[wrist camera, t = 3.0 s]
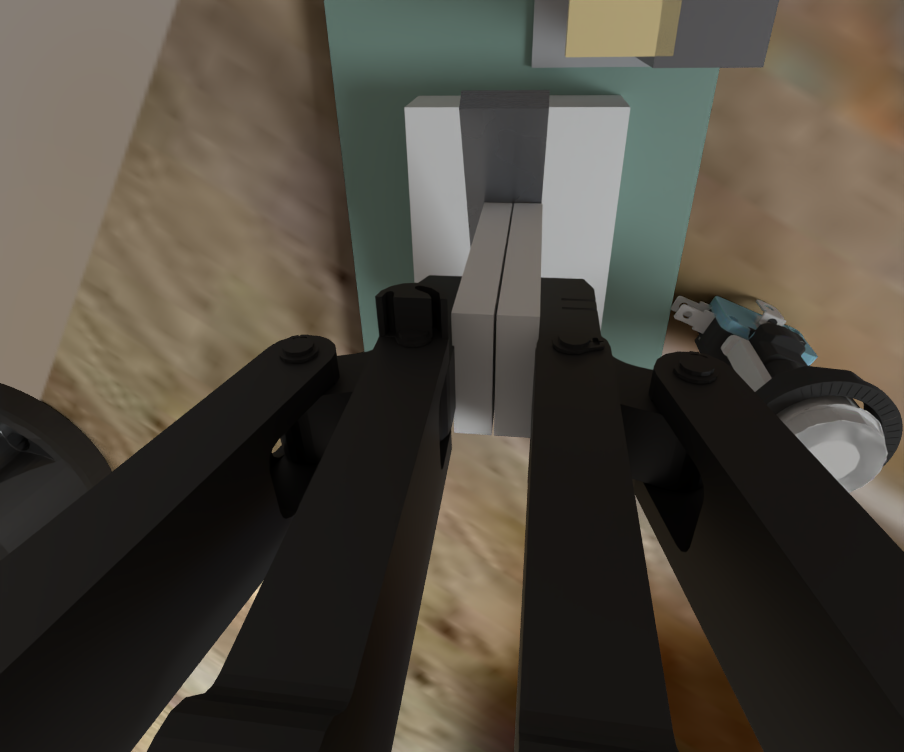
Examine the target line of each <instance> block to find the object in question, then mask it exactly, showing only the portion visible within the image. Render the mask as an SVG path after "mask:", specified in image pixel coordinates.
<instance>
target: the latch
mask: <svg viewBox="0 0 904 752" xmlns="http://www.w3.org/2000/svg"><path fill="white" fill-rule="evenodd" d="M778 2H779V0H569V3H568V17H567V30H566V44H565V57H636V58H638V59H639V60H641V61H642V62H644V63H645V64H647V65H649V66H650V67H652V68H739V67H763V65H764V61H765V57H766V53H767V49H768V44H769V40H770V36H771V32H772V27H773V23H774V19H775V15H776V11H777V6H778Z"/></svg>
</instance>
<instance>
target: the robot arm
mask: <svg viewBox="0 0 904 752" xmlns="http://www.w3.org/2000/svg"><path fill="white" fill-rule="evenodd" d="M542 210H543V204H539V203H514V208H513V214H512V203H488V202H484V205H483V209H482V212H481V215H480V219H479V222H478V225H477V229H476V232H475V235H474V239H473V242H472V245H471V249H470V252H469V255H468V259H467V262H466V265H465V269H464V272H463V275H462V276H440V275H429V276H427V277H426V278H424V279H423V280H421V281H420V282H419V283H402V284H398V285H393V286H390V287H388V288H386V289H383V290H381V291H380V292H379V293H378V294H377V295H376V296H375V301H376V311H377V321H378V330H379V338H378V340H377V342H376V344H375V346H374V348H373V350H370V351H367V352H362V353H357V354H349V355H341V356H337V354H336V347H335V344H334V343H333V342H331V341H330V340H329V339H327V338H324V337H321V336H312V335H300V336H299V335H296V336H292V337H290V338H287V339H284V340H281V341H278V342H277V343H275V344H273V345H272V346H270V347H268V348H267V349H266V350H265V351H263V352H262V353H261V354H260V355H258V356H257V357H256V358H255V359H253V360H252V361H251V362H250V363H248V364H247V365H246V366H244V367H243V368H242V369H241V370H239V371H238V372H237V373H236V374H234V375H233V376H232V377H231V378H229V379H228V380H227V381H226V382H224V383H223V384H222V385H221V386H219V387H218V388H217V389H216V390H214V391H213V392H212V393H211V394H209V395H208V396H207V397H206V398H204V399H203V400H202V401H200V402H199V403H198V404H197V405H195V406H194V407H193V408H192V409H190V410H189V411H188V412H187V413H185V414H184V415H183V416H182V417H180V418H179V419H178V420H177V421H175V422H174V423H173V424H172V425H170V426H169V427H168V428H167V429H165V430H164V431H163V432H162V433H160V434H159V435H158V436H157V437H155V438H154V439H153V440H151V441H150V442H149V443H148V444H146V445H145V446H144V447H143V448H141V449H140V450H139V451H138V452H136V453H135V454H134V455H133V456H131V457H130V458H129V459H128V460H126V461H125V462H124V463H123V464H121V465H120V466H119V467H118V468H116V469H115V470H114V471H113V472H112V471H111V469H110V467H109V465H108V463H107V462H106V460H105V459H104V457H103V456H102V454H101V453H100V452H99V450H98V449H97V448H96V447H95V445H94V444H93V443H92V442H91V441H90V440H89V439H88V438H87V436H86V435H85V434H84V433H82V432H81V431H80V430H79V429H78V428H77V427H76V426H75V425H74V424H73V423H71V422H70V421H69V420H68V419H66V418H65V417H64V416H62V415H61V414H60V413H58V412H57V411H55V410H54V409H52V408H51V407H49V406H48V405H46V404H44V403H43V402H41V401H39V400H38V399H36V398H34V397H32V396H30V395H28V394H26V393H24V392H22V391H19V390H17V389H15V388H12V387H10V386H7V385H4V384H1V383H0V752H131V751H132V749H133V748H134V747H135V745H136V744H137V743H138V742H139V740H140V739H141V738H142V736H143V735H144V734H145V733H146V731H147V730H148V729H149V727H150V726H151V725H152V724H153V722H154V721H155V720H156V718H157V717H158V716H159V714H160V713H161V712H162V711H163V709H164V708H165V707H166V705H167V704H168V703H169V702H170V700H171V699H172V698H173V696H174V695H175V694H176V693H177V691H178V690H179V689H180V687H181V686H182V685H183V683H184V682H185V681H186V680H187V678H188V677H189V676H190V674H191V673H192V672H193V671H194V669H195V668H196V667H197V665H198V664H199V663H200V662H201V660H202V659H203V658H204V656H205V655H206V654H207V653H208V651H209V650H210V649H211V647H212V646H213V645H214V643H215V642H216V641H217V640H218V638H219V637H220V636H221V634H222V633H223V632H224V631H225V629H226V628H227V627H228V625H229V624H230V623H231V622H232V620H233V619H234V618H235V616H236V615H237V614H238V612H239V611H240V610H241V609H242V607H243V606H244V605H245V603H246V602H247V601H248V600H249V598H250V597H251V596H252V594H253V593H254V592H255V591H256V589H257V588H258V587H259V585H260V584H261V583H262V581H263V580H264V581H263V583H262V585H261V587H260V589H259V591H258V593H257V596H256V598H255V600H254V602H253V604H252V606H251V608H250V610H249V612H248V615H247V617H246V619H245V621H244V623H243V625H242V627H241V629H240V631H239V634H238V636H237V638H236V640H235V642H234V644H233V646H232V648H231V651H230V653H229V655H228V657H227V659H226V661H225V663H224V665H223V667H222V670H221V672H220V674H219V675H218V677H217V679H216V680H215V682H214V684H213V685H212V686H211V687H210V688H209V689H208V690H207V691H206V692H205V693H203V694H199V695H194V696H190V697H186V698H184V699H183V700H182V701H181V702H180V703H179V704H178V705H177V706H176V707H175V708H174V709H173V710H172V711H171V712H170V713H169V715H168V716H167V718H166V719H165V721H164V723H163V724H162V726H161V727H160V729H159V730H158V732H157V734H156V735H155V737H154V739H153V741H152V743H151V745H150V746H149V748H148V750H147V752H391V750H392V745H393V740H394V735H395V730H396V725H397V720H398V715H399V710H400V705H401V700H402V695H403V690H404V685H405V680H406V675H407V670H408V665H409V660H410V655H411V650H412V645H413V640H414V635H415V630H416V625H417V620H418V615H419V610H420V605H421V600H422V595H423V590H424V585H425V580H426V575H427V570H428V565H429V560H430V555H431V550H432V545H433V540H434V535H435V530H436V525H437V520H438V515H439V510H440V505H441V500H442V495H443V490H444V485H445V480H446V475H447V470H448V465H449V460H450V455H451V450H452V442H451V427H452V422H453V418H454V433H468V434H483V435H491V434H492V426H493V418H494V410H495V418H494V435H496V436H511V437H526V438H530V452H529V468H528V491H527V511H526V530H525V550H524V569H523V589H522V609H521V628H520V648H519V667H518V687H517V706H516V726H515V745H514V752H678V749H677V747H676V743H675V739H674V734H673V729H672V723H671V717H670V711H669V704H668V698H667V692H666V686H665V680H664V673H663V667H662V661H661V655H660V649H659V642H658V636H657V630H656V624H655V618H654V611H653V605H652V599H651V593H650V587H649V580H648V574H647V568H646V562H645V555H644V549H643V543H642V537H641V531H640V524H639V518H638V512H637V506H636V500H635V495H636V497H637V499H638V501H639V503H640V505H641V507H642V509H643V511H644V513H645V515H646V517H647V519H648V521H649V523H650V525H651V527H652V529H653V531H654V533H655V535H656V537H657V539H658V541H659V543H660V545H661V547H662V549H663V551H664V553H665V555H666V557H667V559H668V561H669V563H670V565H671V567H672V569H673V571H674V573H675V575H676V577H677V579H678V581H679V583H680V585H681V587H682V589H683V591H684V593H685V595H686V597H687V599H688V601H689V603H690V605H691V607H692V609H693V611H694V613H695V615H696V617H697V619H698V621H699V623H700V625H701V627H702V629H703V631H704V633H705V635H706V637H707V639H708V641H709V643H710V645H711V647H712V649H713V651H714V653H715V655H716V657H717V659H718V661H719V663H720V665H721V667H722V669H723V671H724V673H725V675H726V677H727V679H728V681H729V683H730V685H731V687H732V689H733V691H734V693H735V695H736V697H737V699H738V701H739V703H740V705H741V707H742V709H743V711H744V713H745V715H746V717H747V719H748V721H749V723H750V725H751V727H752V729H753V731H754V733H755V735H756V737H757V739H758V741H759V743H760V745H761V747H762V749H763V751H764V752H904V552H903V551H902V550H901V548H900V547H899V546H898V545H897V544H896V543H895V542H894V541H893V540H892V539H891V538H890V537H889V536H888V534H887V533H886V532H885V531H884V530H883V529H882V528H881V527H880V526H879V525H878V524H877V523H876V522H875V521H874V519H873V518H872V517H871V516H870V515H869V514H868V513H867V512H866V511H865V510H864V509H863V508H862V507H861V505H860V504H859V503H858V502H857V501H856V500H855V499H854V498H853V497H852V496H851V495H850V494H849V493H848V492H847V490H846V489H845V488H844V487H843V486H842V485H841V484H840V483H839V482H838V481H837V480H836V479H835V478H834V476H833V475H832V474H831V473H830V472H829V471H828V470H827V469H826V468H825V467H824V466H823V465H822V464H821V463H820V461H819V460H818V459H817V458H816V457H815V456H814V455H813V454H812V453H811V452H810V451H809V450H808V449H807V447H806V446H805V445H804V444H803V443H802V442H801V441H800V440H799V439H798V438H797V437H796V436H795V435H794V434H793V432H792V431H791V430H790V429H789V428H788V427H787V426H786V425H785V424H784V423H783V422H782V421H781V420H780V418H779V417H778V416H777V415H776V414H775V413H774V412H773V411H772V410H771V409H770V408H769V407H768V406H767V405H766V403H765V402H764V401H763V400H762V399H761V398H760V397H759V396H758V395H757V394H756V393H755V392H754V391H753V389H752V388H751V387H750V386H749V385H748V384H747V383H746V382H745V381H744V380H743V379H742V378H741V377H740V376H739V374H738V373H737V372H736V371H735V370H734V369H733V368H731V367H730V366H729V365H727V364H726V363H725V362H724V361H721V360H719V359H717V358H714V357H712V356H710V355H708V354H704V353H699V352H693V351H690V352H674V353H669V354H665V355H663V356H662V357H660V358H658V359H657V360H656V363H655V365H654V368H653V370H651V369H647V368H642V367H638V366H635V365H631V364H628V363H625V362H623V361H621V360H619V359H617V358H615V357H614V356H612V351H611V346H610V345H609V343H608V341H607V340H606V339H605V338H603V337H602V336H601V330H600V324H599V317H598V311H597V304H596V298H595V291H594V288H593V287H592V286H591V285H590V284H588V283H587V282H586V281H585V280H584V279H573V278H544V277H541V252H542ZM279 439H281V443H282V445H281V446H280V447H279V448H278V450H277V451H276V452H274V453H273V454H272V453H271V452H272V449H273V447H274V446H275V444H276V443H277V441H278V440H279Z"/></svg>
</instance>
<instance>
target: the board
mask: <svg viewBox="0 0 904 752" xmlns="http://www.w3.org/2000/svg"><path fill="white" fill-rule="evenodd" d="M568 3H569V0H324V6H325V14H326V23H327V31H328V40H329V49H330V57H331V66H332V75H333V83H334V92H335V101H336V109H337V118H338V127H339V135H340V144H341V152H342V161H343V170H344V178H345V187H346V196H347V204H348V213H349V222H350V230H351V239H352V248H353V256H354V265H355V273H356V282H357V291H358V299H359V308H360V317H361V325H362V334H363V343H364V351H365V352H367V351H370V350H373V348H374V346H375V344H376V342H377V340H378V338H379V330H378V321H377V311H376V301H375V296H376V295H377V294H378V293H379V292H380V291H381V290H383V289H386V288H388V287H390V286H393V285H398V284H402V283H419V282H420V281H421V280H423V279H424V278H426V277H427V276H429V275H440V276H462V275H463V272H464V269H465V265H466V262H467V259H468V255H469V252H470V237H469V224H468V212H467V200H466V188H465V176H464V163H463V151H462V139H461V127H460V115H459V105H460V97H461V90H550V96H549V116H548V128H547V141H546V154H545V166H544V179H543V192H542V204H543V210H542V252H541V277H544V278H573V279H584V280H585V281H586V282H587V283H588V284H590V285H591V286H592V287H593V288H594V291H595V298H596V304H597V311H598V317H599V324H600V330H601V336H602V337H603V338H605V339H606V340H607V341H608V343H609V345H610V346H611V351H612V356H614V357H615V358H617V359H619V360H621V361H623V362H625V363H628V364H631V365H635V366H638V367H642V368H647V369H651V370H653V368H654V365H655V363H656V360H657V359H658V358H660V357H661V355H662V350H663V345H664V340H665V335H666V331H667V326H668V321H669V316H670V311H671V306H672V301H673V296H674V291H675V286H676V281H677V276H678V271H679V266H680V261H681V256H682V251H683V246H684V241H685V237H686V232H687V227H688V222H689V217H690V212H691V207H692V202H693V197H694V192H695V187H696V182H697V177H698V172H699V167H700V162H701V157H702V152H703V147H704V143H705V138H706V133H707V128H708V123H709V118H710V113H711V108H712V103H713V98H714V93H715V88H716V83H717V78H718V73H719V68H652V67H650V66H649V65H647V64H645V63H644V62H642V61H641V60H639V59H638V58H636V57H565V44H566V30H567V17H568Z"/></svg>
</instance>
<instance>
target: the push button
mask: <svg viewBox="0 0 904 752" xmlns="http://www.w3.org/2000/svg"><path fill="white" fill-rule="evenodd" d="M684 302H685V303H687V304H688V305H685V304H682V305H681V306H680V308H679V305H680V304H681V303H684ZM756 302H757V304H758V305H759V307H760V308H761V310H762V311H764V313H763V315H760V314H758V313H756V312H753V311H751V310H749V309H747V308H744V307H742V306H740V305H737V304H735V303H733V302H730V301H728V300H726V299H723V298H721V297H718V296H715V297H714V299H713V300H712V301H711V303H710V304H707V303H704V302H702V301H700V303H696V302H694V301H692V300H689V299H687V298H685V297H682V296H678V297H677V298H676V299H675V301H674V302H673V304H672V306H671V310H673V311H675V312H676V313H675V315H674V318H675V319H677V320H680V321H682V322H684V323H687V324H689V325H691V326H693V327H692V329H693V330H695V331H698V333H699V335H698V337H697V338H696V339H695V343H696V345H697V347H698V350H699V352H700V353H704V354H708V355H710V356H712V357H714V358H717V359H719V360H721V361H724V362H725V363H726V364H727V365H729V366H730V367H731V368H733V369H734V370H735V371H736V372H737V373H738V374H739V376H740V377H741V378H742V379H743V380H744V381H745V382H746V383H747V384H748V385H749V386H750V387H751V388H752V389H753V391H754V392H755V393H756V394H757V395H758V396H759V397H760V398H761V399H762V400H763V401H764V402H765V403H766V405H767V406H768V407H769V408H770V409H771V410H772V411H773V412H774V413H775V414H776V415H777V416H778V417H779V418H780V420H781V421H782V422H783V423H784V424H785V425H786V426H787V427H788V428H789V429H790V430H791V431H792V432H793V434H794V435H795V436H796V437H797V438H798V439H799V440H800V441H801V442H802V443H803V444H804V445H805V446H806V447H807V449H808V450H809V451H810V452H811V453H812V454H813V455H814V456H815V457H816V458H817V459H818V460H819V461H820V463H821V464H822V465H823V466H824V467H825V468H826V469H827V470H828V471H829V472H830V473H831V474H832V475H833V476H834V478H835V479H836V480H837V481H838V482H839V483H840V484H841V485H842V486H843V487H844V488H845V489H846V490H847V492H848V493H850V492H852V491H854V490H856V489H858V488H861V487H863V486H864V485H866V484H867V483H868V482H869V481H871V480H873V479H874V477H875V476H876V475H877V474H878V473H879V472H880V471H881V469H882V467H883V466H884V465H885V464H886V463H887V462H888V461H889V460H890V458H891V457H892V456H893V454H894V453H895V451H896V449H897V447H898V445H899V443H900V440H901V436H902V418H901V415H900V412H899V410H898V409H897V407H896V405H895V404H894V403H893V401H892V400H891V399H890V398H889V397H888V396H887V395H886V394H885V393H884V392H883V391H882V390H880V389H879V388H878V387H876V386H874V385H872V384H870V383H868V382H865V381H864V380H862V379H861V378H860V377H858V376H857V375H856V374H854V373H853V372H851V371H848V370H839V369H830V368H821V367H812V366H810V365H811V364H812V363H813V361H814V360H815V359H816V358H817V357H818V356H817V355H816V353H815V352H814V351H813V349H812V348H811V347H810V346H809V344H808V343H807V342H806V340H805V339H804V338H803V335H802V334H801V333H800V332H799V331H797V330H796V329H794V328H792V327H790V326H788V325H784V324H785V323H786V320H784V319H783V316H782V315H781V314H780V312H779V311H778V310H777V308H775V307H774V306H772V305H770V304H768V303H765V302H763V301H761V300H756ZM765 306H766V307H765ZM767 307H768V308H770V309H771V310H770V309H768V308H767ZM683 315H684V316H687V317H689V318H684V317H683ZM853 398H854V399H857V400H859V401H862V402H863V403H864V409H861V408H860V407H859V406H858V405H857V403H856V402H855V401H854V399H853Z"/></svg>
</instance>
